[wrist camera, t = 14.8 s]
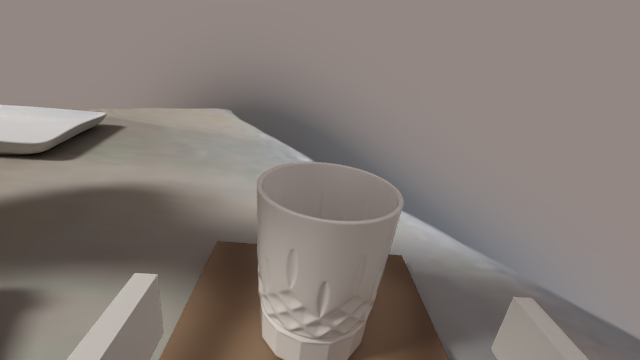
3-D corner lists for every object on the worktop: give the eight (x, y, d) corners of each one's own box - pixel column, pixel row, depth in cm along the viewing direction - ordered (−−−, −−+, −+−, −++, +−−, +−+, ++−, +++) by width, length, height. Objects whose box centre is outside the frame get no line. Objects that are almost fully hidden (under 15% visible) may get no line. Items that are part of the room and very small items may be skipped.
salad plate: (111, 127, 62) (109, 110, 60) (48, 164, 42) (42, 140, 41) (-20, 120, 57) (-26, 101, 55) (-158, 158, 38) (-171, 130, 36)
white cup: (395, 337, 20) (433, 200, 17) (298, 411, 16) (321, 242, 12) (319, 270, 26) (335, 156, 22) (229, 310, 21) (230, 171, 17)
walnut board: (103, 494, 13) (99, 480, 12) (217, 250, 28) (217, 241, 28) (500, 503, 14) (507, 491, 14) (399, 264, 30) (401, 255, 29)
